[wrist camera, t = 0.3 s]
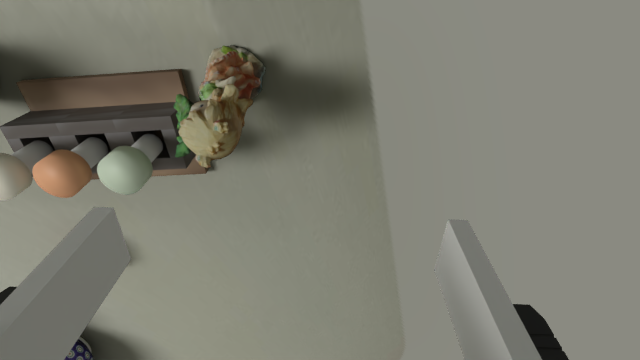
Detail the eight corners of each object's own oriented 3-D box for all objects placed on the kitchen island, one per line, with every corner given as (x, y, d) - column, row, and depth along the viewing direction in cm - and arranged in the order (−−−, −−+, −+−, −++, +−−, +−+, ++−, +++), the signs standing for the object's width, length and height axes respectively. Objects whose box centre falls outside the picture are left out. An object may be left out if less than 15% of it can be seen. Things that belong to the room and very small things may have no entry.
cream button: (15, 134, 37) (-41, 164, 31) (51, 132, 37) (2, 162, 31) (33, 167, 39) (-16, 201, 33) (68, 165, 39) (25, 199, 33)
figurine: (244, 28, 36) (198, 64, 23) (285, 92, 39) (263, 154, 27) (176, 73, 39) (101, 128, 26) (220, 130, 42) (172, 203, 29)
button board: (22, 80, 39) (-19, 95, 35) (181, 68, 38) (160, 83, 34) (71, 176, 46) (42, 201, 41) (208, 169, 45) (194, 193, 40)
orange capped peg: (70, 131, 37) (23, 160, 31) (107, 128, 36) (67, 158, 31) (86, 164, 39) (45, 198, 33) (121, 163, 38) (86, 196, 33)
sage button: (126, 127, 36) (89, 157, 31) (164, 125, 36) (134, 154, 30) (139, 162, 38) (107, 195, 33) (175, 159, 38) (149, 193, 33)
